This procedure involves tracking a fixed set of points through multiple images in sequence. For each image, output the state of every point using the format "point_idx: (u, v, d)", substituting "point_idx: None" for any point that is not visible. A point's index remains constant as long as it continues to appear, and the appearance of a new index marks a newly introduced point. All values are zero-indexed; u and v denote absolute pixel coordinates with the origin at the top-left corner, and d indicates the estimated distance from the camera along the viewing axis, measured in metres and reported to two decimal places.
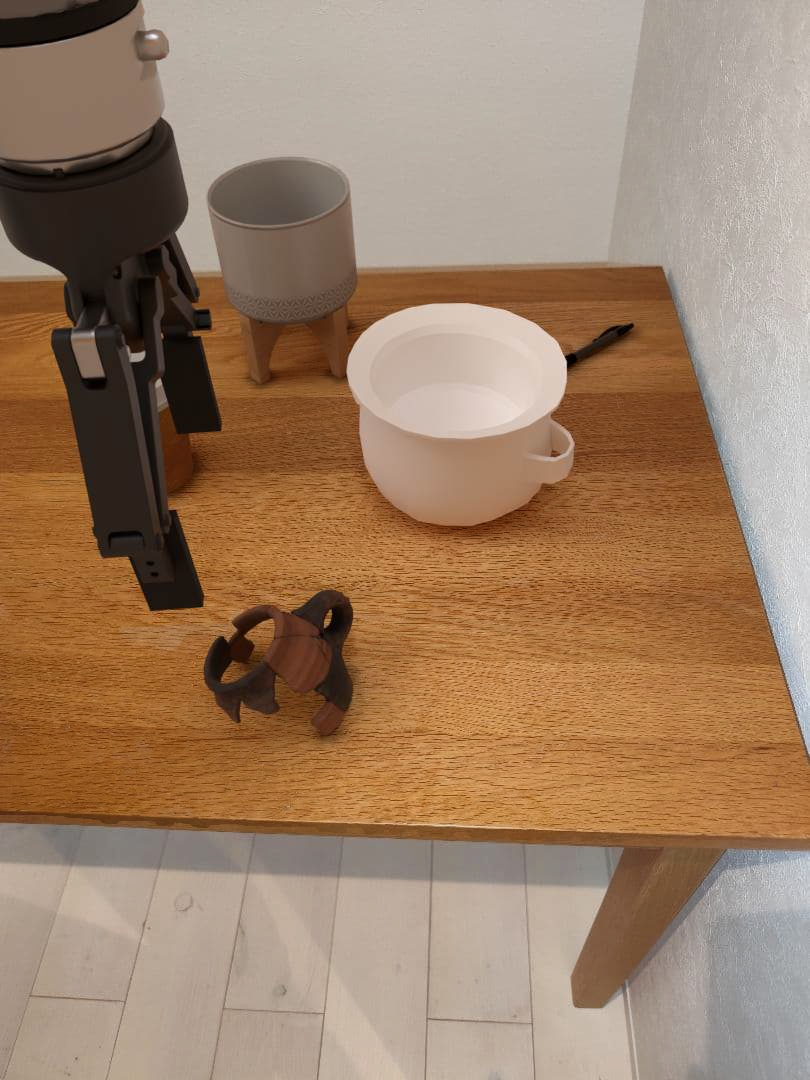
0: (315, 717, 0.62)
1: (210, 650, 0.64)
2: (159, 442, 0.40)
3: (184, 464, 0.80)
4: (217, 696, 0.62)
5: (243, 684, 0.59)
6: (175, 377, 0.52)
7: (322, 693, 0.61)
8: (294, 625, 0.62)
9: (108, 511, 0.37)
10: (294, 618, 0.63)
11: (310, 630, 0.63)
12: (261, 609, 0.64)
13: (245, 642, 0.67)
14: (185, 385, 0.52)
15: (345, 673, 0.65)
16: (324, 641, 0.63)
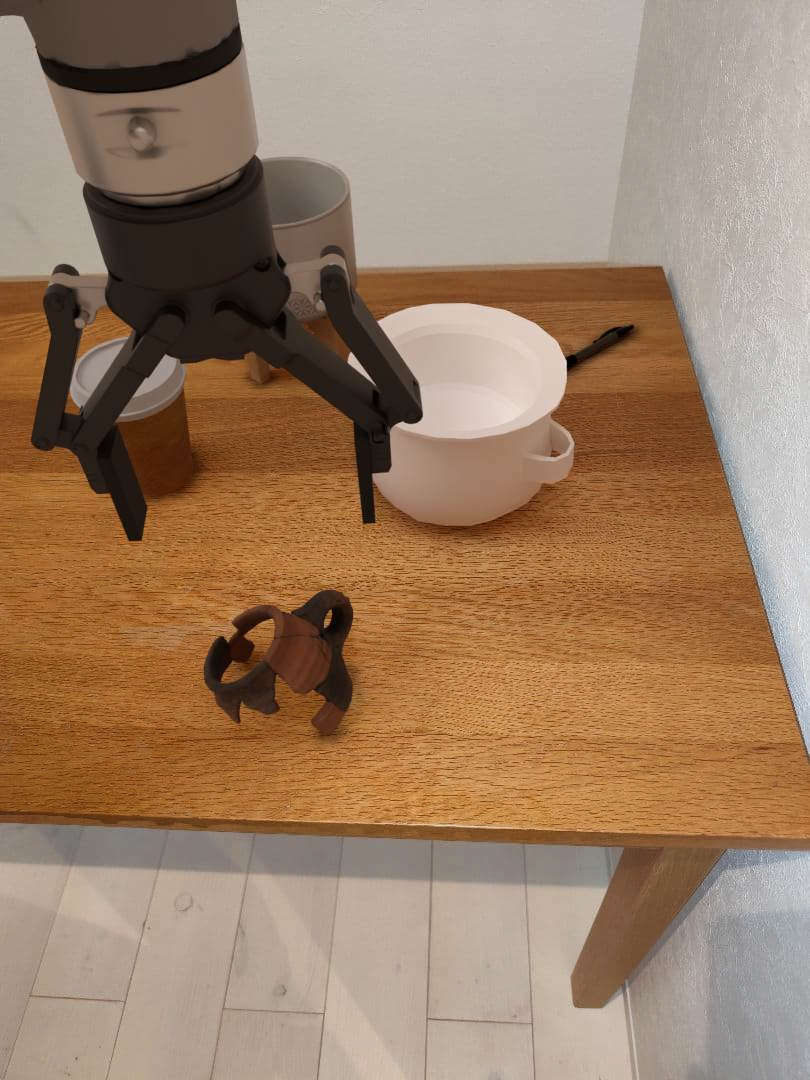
0: (315, 717, 0.62)
1: (210, 650, 0.64)
2: (115, 408, 0.45)
3: (184, 464, 0.80)
4: (217, 696, 0.62)
5: (243, 684, 0.59)
6: None
7: (322, 693, 0.61)
8: (294, 625, 0.62)
9: None
10: (294, 618, 0.63)
11: (310, 630, 0.63)
12: (261, 609, 0.64)
13: (245, 642, 0.67)
14: None
15: (345, 673, 0.65)
16: (324, 641, 0.63)
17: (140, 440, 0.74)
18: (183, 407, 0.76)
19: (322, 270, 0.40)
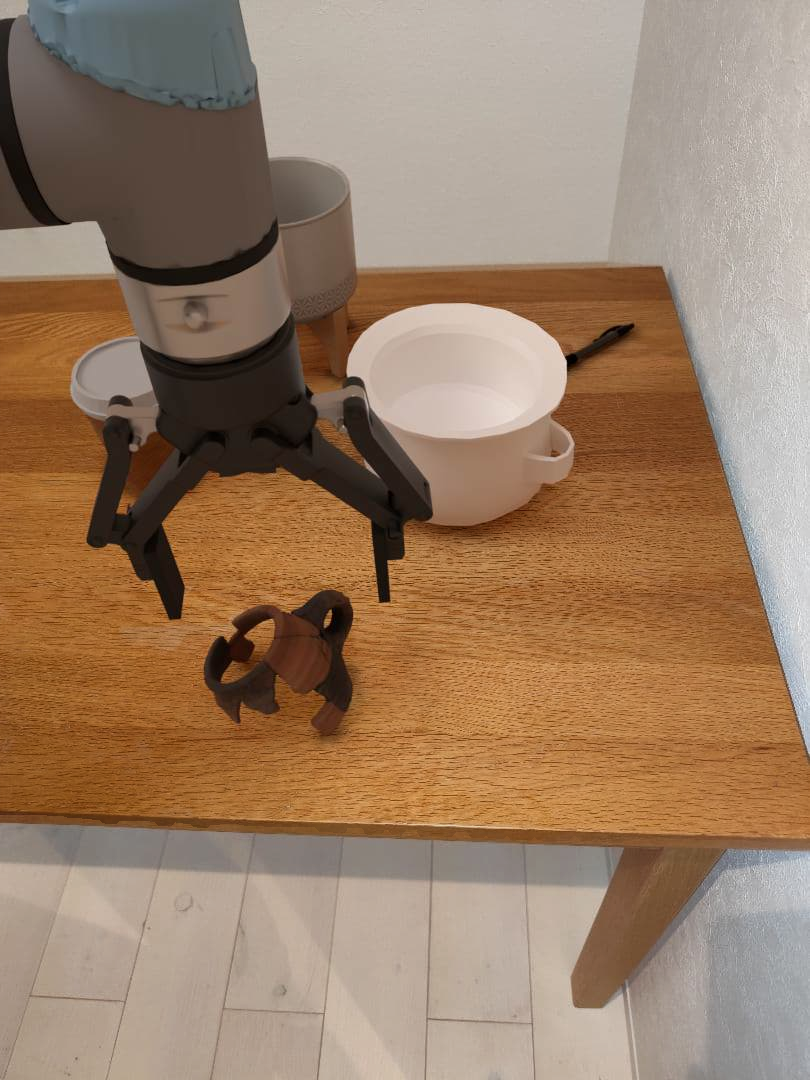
0: (315, 717, 0.62)
1: (210, 650, 0.64)
2: (161, 513, 0.51)
3: None
4: (217, 696, 0.62)
5: (243, 684, 0.59)
6: None
7: (322, 693, 0.61)
8: (294, 625, 0.62)
9: None
10: (294, 618, 0.63)
11: (310, 630, 0.63)
12: (261, 609, 0.64)
13: (245, 642, 0.67)
14: None
15: (345, 673, 0.65)
16: (324, 641, 0.63)
17: None
18: None
19: (345, 401, 0.46)
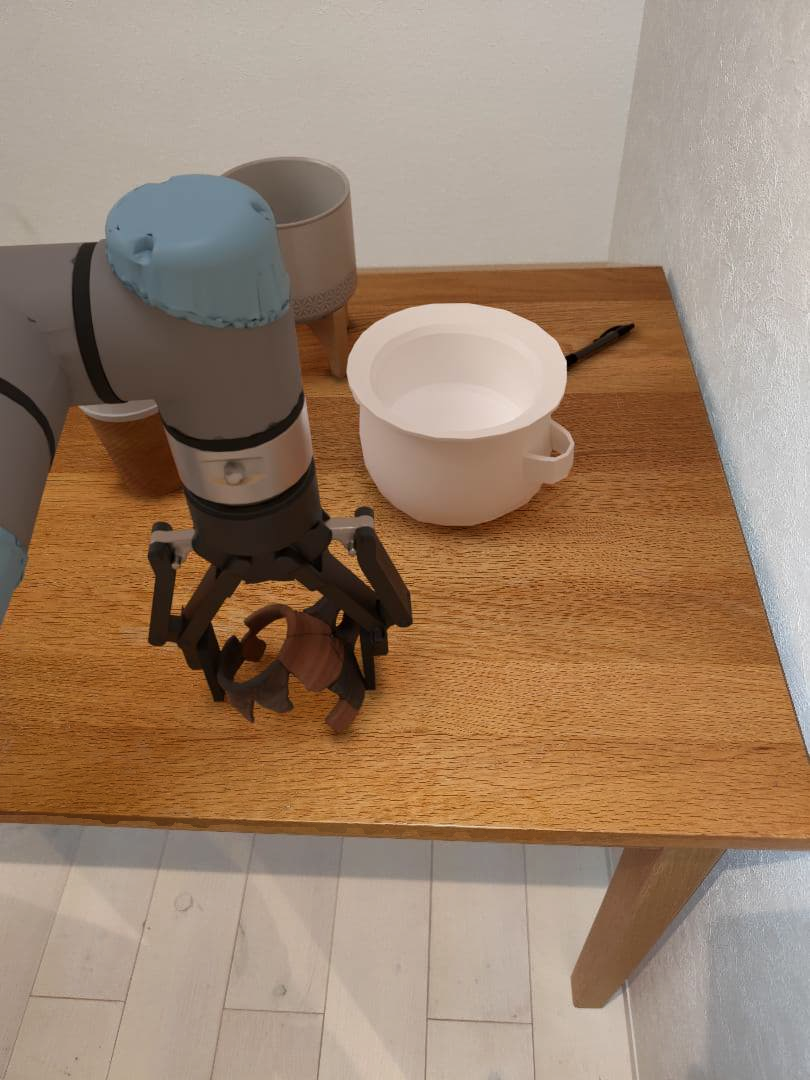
0: (329, 715, 0.62)
1: (222, 650, 0.64)
2: (207, 617, 0.58)
3: None
4: (230, 695, 0.62)
5: (257, 683, 0.59)
6: None
7: (335, 691, 0.61)
8: (306, 624, 0.62)
9: None
10: (306, 617, 0.63)
11: (322, 628, 0.63)
12: (273, 608, 0.64)
13: (257, 641, 0.67)
14: None
15: (358, 671, 0.65)
16: (337, 639, 0.63)
17: (140, 440, 0.74)
18: None
19: (358, 529, 0.54)
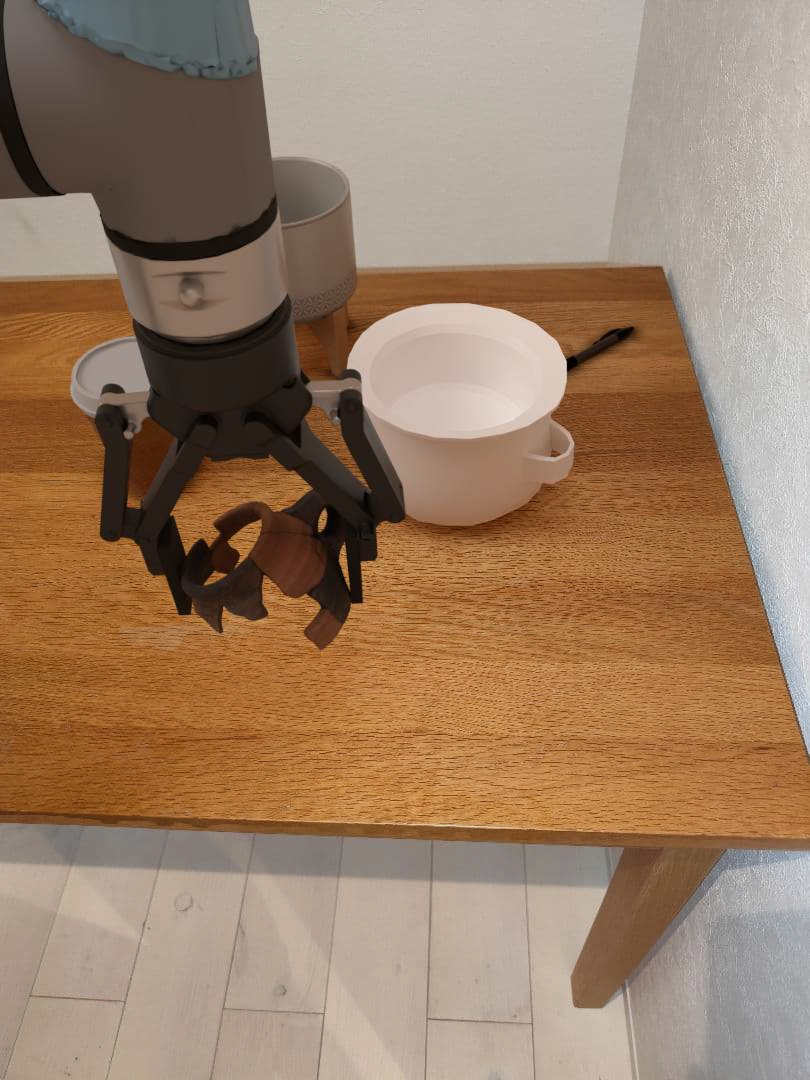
0: (309, 627, 0.54)
1: (188, 554, 0.56)
2: (168, 504, 0.50)
3: None
4: (196, 603, 0.54)
5: (225, 584, 0.51)
6: None
7: (316, 598, 0.54)
8: (284, 522, 0.55)
9: None
10: (284, 516, 0.55)
11: (302, 527, 0.55)
12: (246, 506, 0.56)
13: (229, 550, 0.59)
14: None
15: (343, 580, 0.57)
16: (318, 541, 0.55)
17: (140, 440, 0.74)
18: None
19: (343, 392, 0.46)
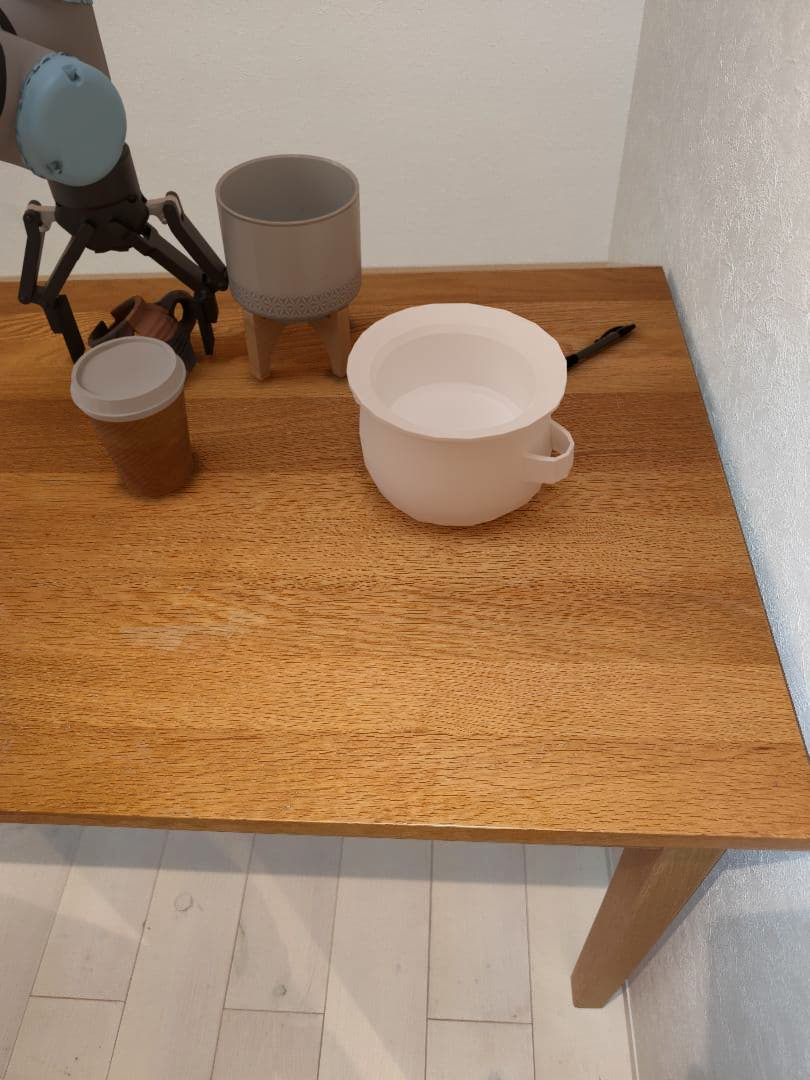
0: None
1: None
2: (62, 279, 0.84)
3: (184, 464, 0.80)
4: None
5: (110, 335, 0.86)
6: None
7: None
8: (150, 306, 0.89)
9: None
10: (151, 304, 0.90)
11: (161, 309, 0.90)
12: (129, 298, 0.91)
13: None
14: None
15: (190, 347, 0.92)
16: (172, 318, 0.90)
17: (140, 440, 0.74)
18: (183, 407, 0.76)
19: (164, 203, 0.80)
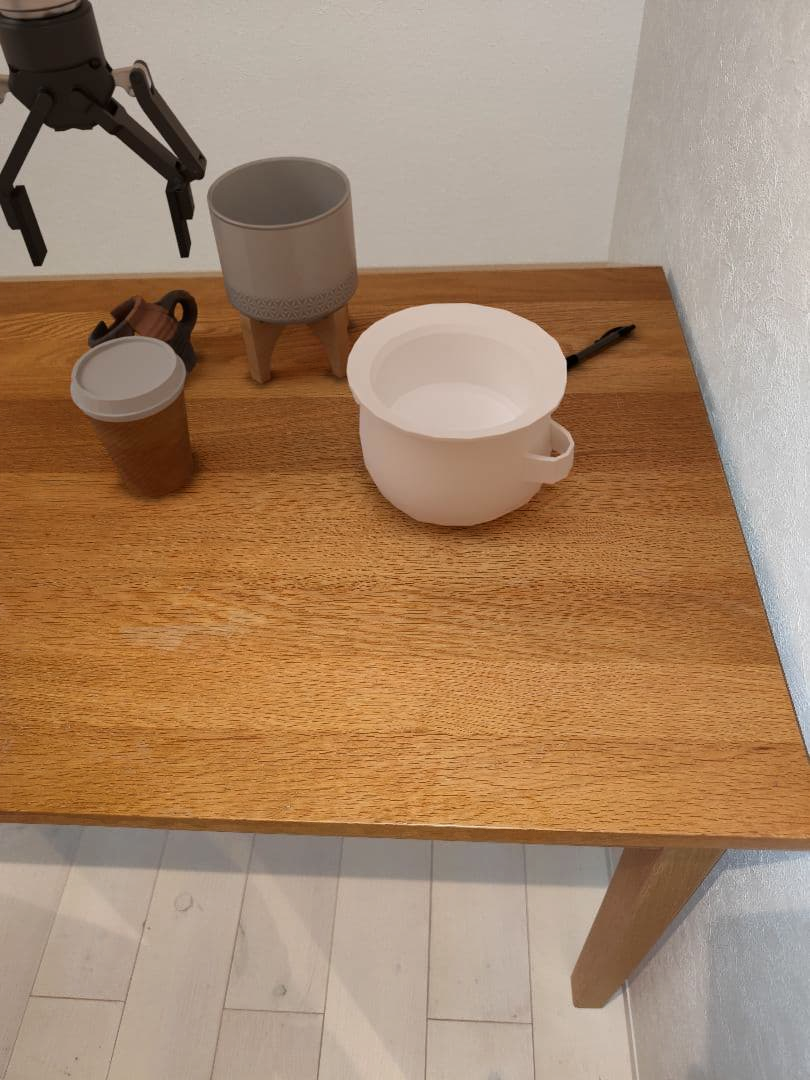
0: None
1: None
2: (18, 162, 0.76)
3: (184, 464, 0.80)
4: None
5: (110, 335, 0.86)
6: None
7: None
8: (150, 306, 0.89)
9: None
10: (152, 304, 0.90)
11: (161, 309, 0.89)
12: (129, 299, 0.91)
13: None
14: None
15: (190, 347, 0.92)
16: (172, 318, 0.90)
17: (140, 440, 0.74)
18: (183, 407, 0.76)
19: (131, 71, 0.72)
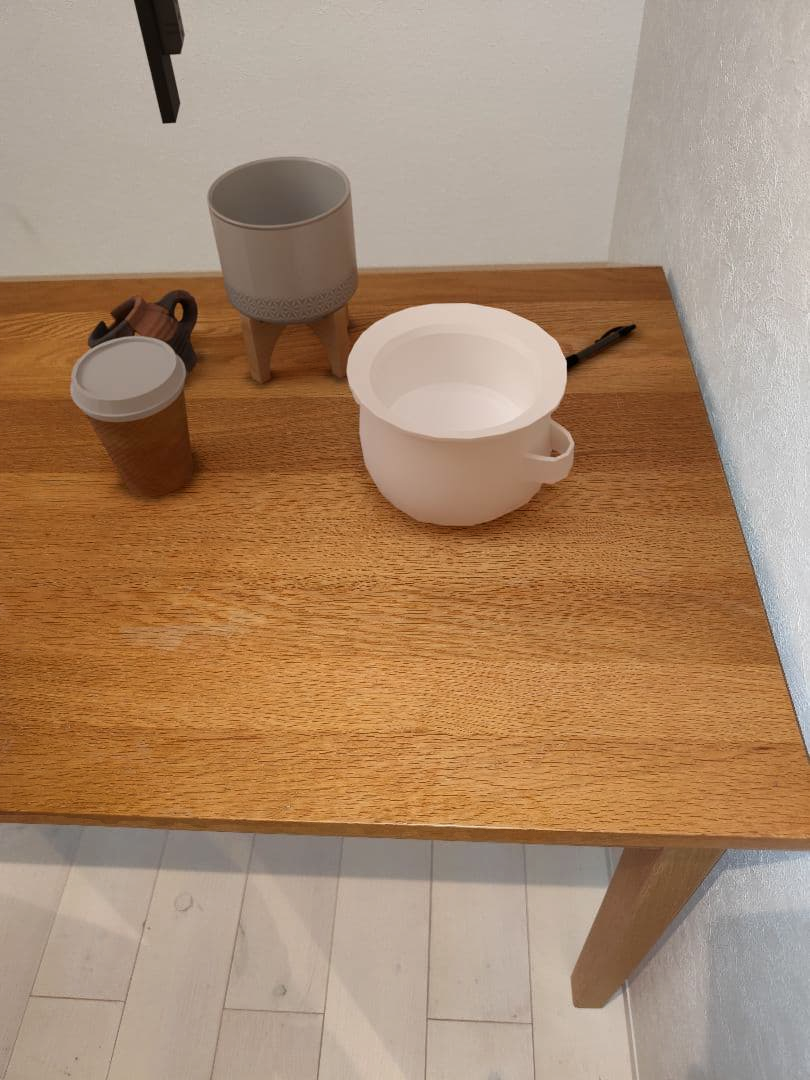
0: None
1: None
2: None
3: (184, 464, 0.80)
4: None
5: (110, 335, 0.86)
6: None
7: None
8: (150, 306, 0.89)
9: None
10: (152, 304, 0.90)
11: (161, 309, 0.89)
12: (129, 299, 0.91)
13: None
14: None
15: (190, 347, 0.92)
16: (172, 318, 0.90)
17: (140, 440, 0.74)
18: (183, 407, 0.76)
19: None
